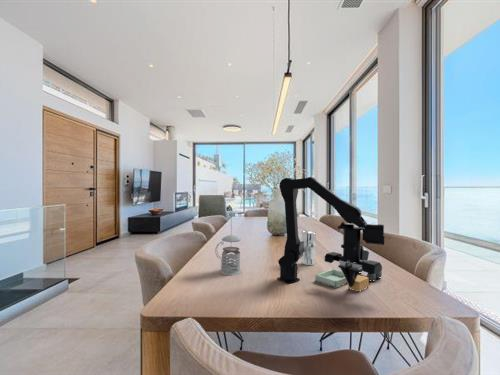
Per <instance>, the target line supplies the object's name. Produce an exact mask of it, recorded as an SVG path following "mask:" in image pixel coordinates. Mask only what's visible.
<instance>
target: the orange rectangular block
mask: <svg viewBox="0 0 500 375" xmlns="http://www.w3.org/2000/svg"><path fill="white" fill-rule="evenodd" d="M369 284H370V281H369V278H368V277H367V276H364V275H361V274H358V275H357V277H356V280H355V282H354V285H353V287H350V286H349V285H348V289H349V288H351V289H354V290H358V291H360V290H362V289H364V288H366V287H368V286H369ZM351 289H350V290H351ZM354 290H353V291H354Z"/></svg>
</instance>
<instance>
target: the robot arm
mask: <svg viewBox="0 0 500 375" xmlns="http://www.w3.org/2000/svg"><path fill="white" fill-rule="evenodd" d="M278 186H279V190H280V194H281V197H282V199H283V202H284V212H285V214H284V215H285V228H286V230H285V232H286V240H285V244H284V250H283V255H282V256H281V257H280V258H279V259H278V260H277V263H278V265H279V269H280V270H279V274H280V276H279V277H277V278H276V279H277V280H278V281H281V282H284V283H285V284H293V283H297V282H298V281H301V280H300V278H299V277H298V264H297V263H298V262H299V260H300V259H302V257H303V252H305V250H304V241H301V238H300V237H299V226H298V225H299V224H298V213H297V212H298V211H297V199H298V198H297V197H298V195H299V190H301V189H303V190H304V189H310V190H311V191H312V192H314V193H315V194H316V195H317V196H319V197H320V199H323V200H324V201H325V202H326V203H327V204H329V205H330V206H332V208H334V210H335V211H336V212H337V213H338V215H339V216H340V217H341V218H342V219H343V220H344V221H341V224H340V225H338V226H337V229H338V230H343V232H342V233H343V235H342V236H343V238H342V244H341V245H340V248H342V253H339V252H336V251H332V252H328V253H326V254H325V255H324V262H325V263H329V264H332V263H334V261H336V262H338V263H339V265H337V267H338V268H340V271H342V272H343V274H344V275H345V278H346V280H347V282H348V284H347V285H348V287H349V286H350V287H353V285H354V282H355V280H356V277H357V275H360V274H359V272H360V271H362V270H363V271H362V272H363V273H367V274H368V273H371V274H375V273H378V272H380V271H382V270H383V266H382V264H381V262H380V261H375V260H368V259H369V255H370V252H369V251H366V250H363V249H364V246H363V245H362V244H361V242H362V241H364V242H365V244H369V245H376V246H378V245H380V246H385V230H384V229H385V226H384V224H373V223H371V224H369V223H367V221H366V220H365V218H364V217H363V216H362V210H361V209H360V208H359V207H358V206H356V205H354V204H352V203H351V202H348V201H346V200H344V199H342V198H340V197H339V196H338V195H336V194H335V193H334V192H332V191H331V190H330V189H329V188H328V187H326V186H325V185H324V184H322V183H321V182H320V181H318V180H317V179H316V178H315V177H311V176H310V177H309V176H308V177H305V178H304V177H303V178H292V177H284V178H283V179H281V181H279V185H278ZM345 222H346V223H345ZM356 226H357V227H356ZM361 236H362V238H361ZM360 260H367V261H366V262H362V261H360ZM354 262H355V263H354Z"/></svg>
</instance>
